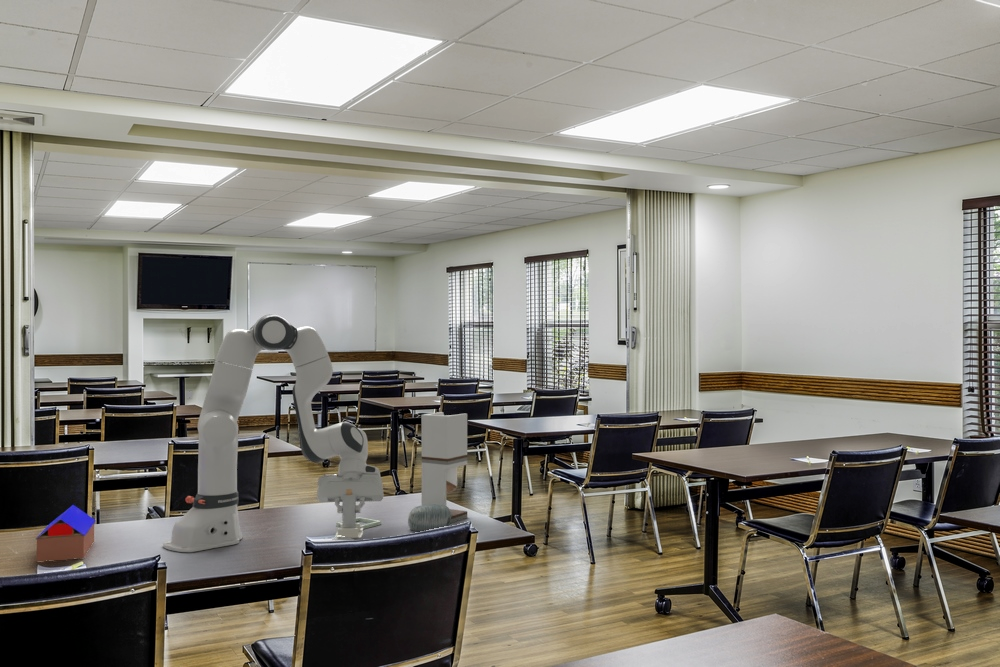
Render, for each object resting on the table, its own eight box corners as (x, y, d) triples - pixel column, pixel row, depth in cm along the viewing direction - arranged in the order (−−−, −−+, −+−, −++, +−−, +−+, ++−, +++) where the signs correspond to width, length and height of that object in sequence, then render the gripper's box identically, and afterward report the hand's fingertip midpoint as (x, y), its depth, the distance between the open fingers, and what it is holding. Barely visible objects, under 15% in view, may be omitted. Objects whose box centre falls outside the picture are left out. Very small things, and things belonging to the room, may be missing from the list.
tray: (358, 532, 249) (358, 526, 249) (336, 528, 255) (336, 522, 255) (381, 526, 257) (381, 521, 257) (358, 522, 263) (358, 517, 263)
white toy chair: (334, 540, 240) (334, 529, 240) (338, 531, 251) (338, 520, 251) (361, 540, 240) (361, 528, 240) (364, 531, 252) (364, 520, 252)
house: (95, 542, 239) (95, 503, 239) (84, 560, 220) (84, 517, 220) (50, 546, 235) (50, 506, 235) (35, 564, 216) (35, 520, 216)
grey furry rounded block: (447, 514, 260) (444, 491, 255) (456, 533, 252) (452, 509, 247) (407, 527, 256) (402, 503, 251) (414, 547, 249) (410, 523, 244)
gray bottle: (348, 536, 241) (348, 491, 241) (339, 534, 243) (339, 489, 244) (358, 533, 244) (358, 489, 245) (349, 532, 247) (349, 487, 247)
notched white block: (447, 524, 261) (447, 416, 261) (421, 520, 267) (421, 414, 267) (467, 517, 271) (467, 413, 271) (441, 513, 276) (441, 412, 277)
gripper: (317, 469, 250) (312, 506, 240) (383, 468, 252) (381, 505, 242) (319, 480, 255) (315, 518, 245) (384, 479, 256) (382, 517, 246)
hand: (348, 512), depth 243 cm, fingers closed on gray bottle, 4 cm apart
